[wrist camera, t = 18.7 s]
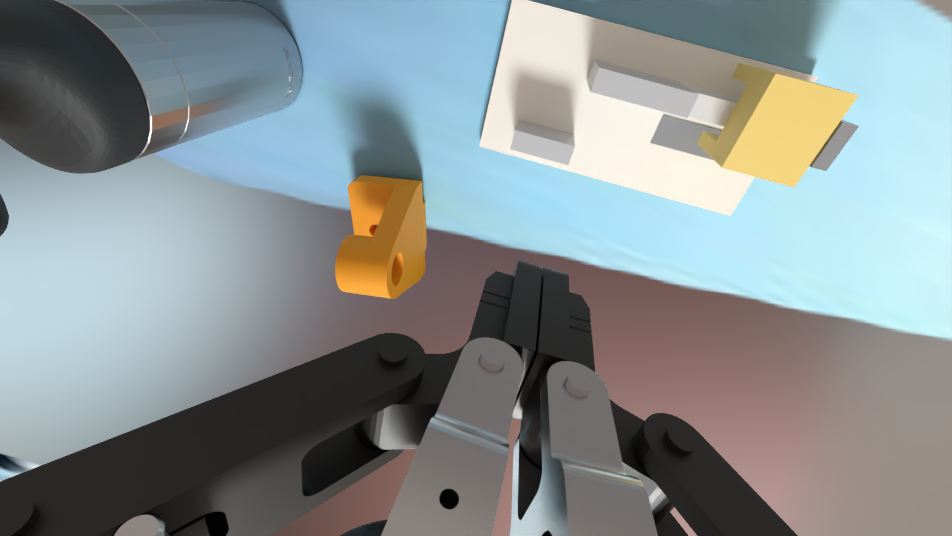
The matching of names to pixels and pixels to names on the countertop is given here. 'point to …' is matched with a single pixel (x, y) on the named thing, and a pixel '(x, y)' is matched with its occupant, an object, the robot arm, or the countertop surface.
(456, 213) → the countertop surface
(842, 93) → the yellow block
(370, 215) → the bracket
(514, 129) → the rail plate
